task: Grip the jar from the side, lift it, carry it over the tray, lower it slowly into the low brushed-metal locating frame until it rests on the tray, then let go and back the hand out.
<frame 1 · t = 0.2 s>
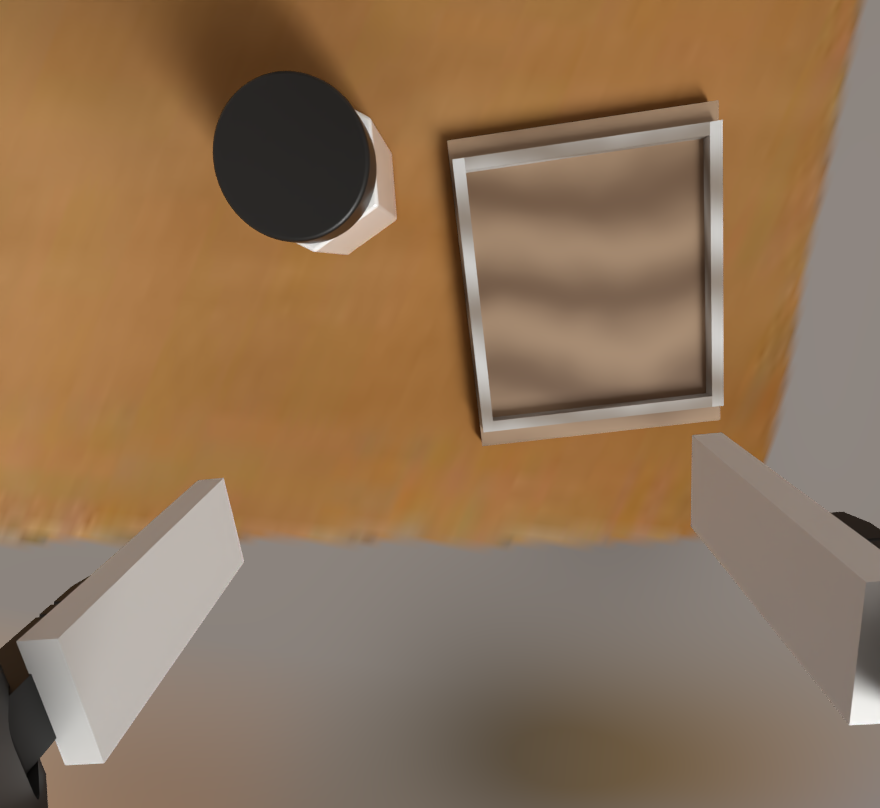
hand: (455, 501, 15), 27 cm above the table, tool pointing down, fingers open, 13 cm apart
tray: (586, 286, 40), on the table
jar: (341, 191, 39), on the table
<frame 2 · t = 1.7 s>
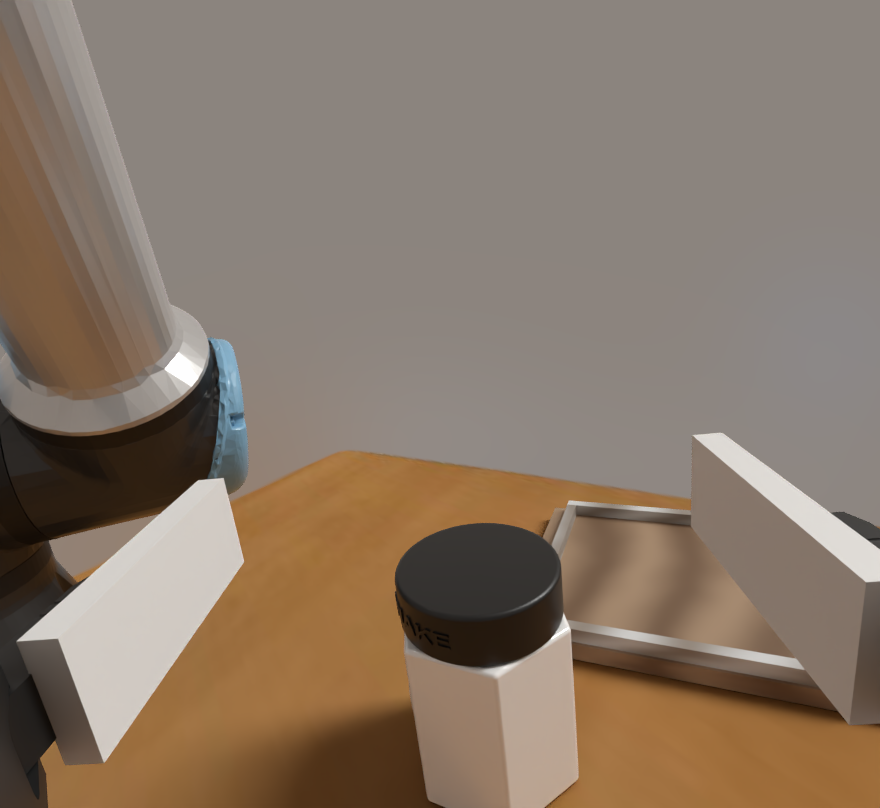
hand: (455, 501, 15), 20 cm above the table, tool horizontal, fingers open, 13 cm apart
tray: (677, 590, 41), on the table
jar: (497, 755, 30), on the table
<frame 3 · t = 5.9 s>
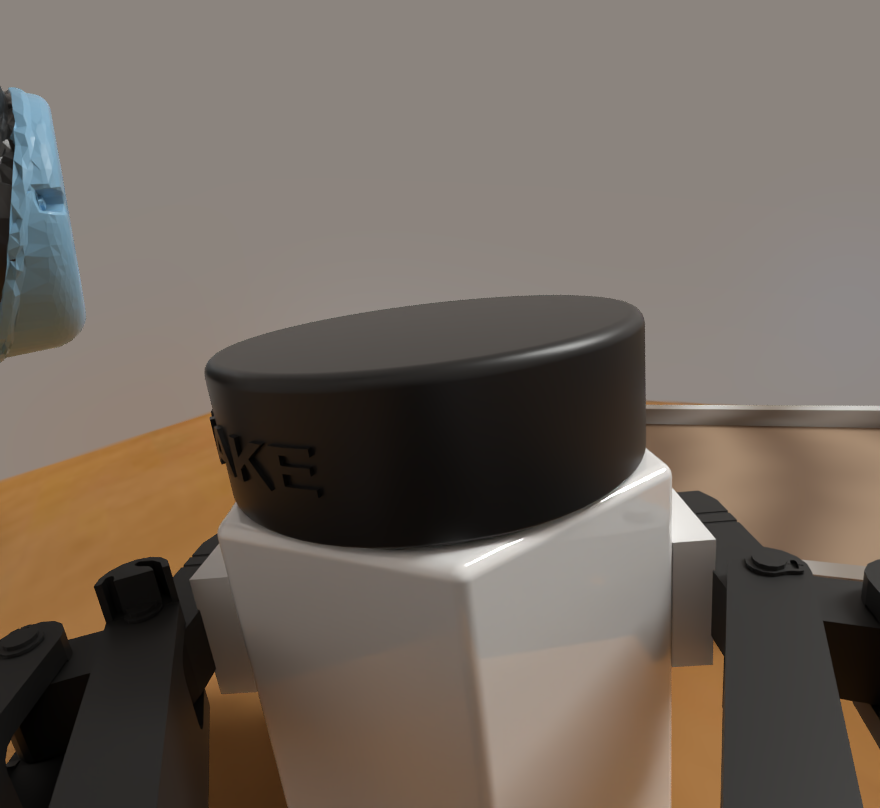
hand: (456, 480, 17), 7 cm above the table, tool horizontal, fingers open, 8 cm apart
tray: (780, 508, 25), on the table
jar: (481, 796, 14), on the table, touching gripper
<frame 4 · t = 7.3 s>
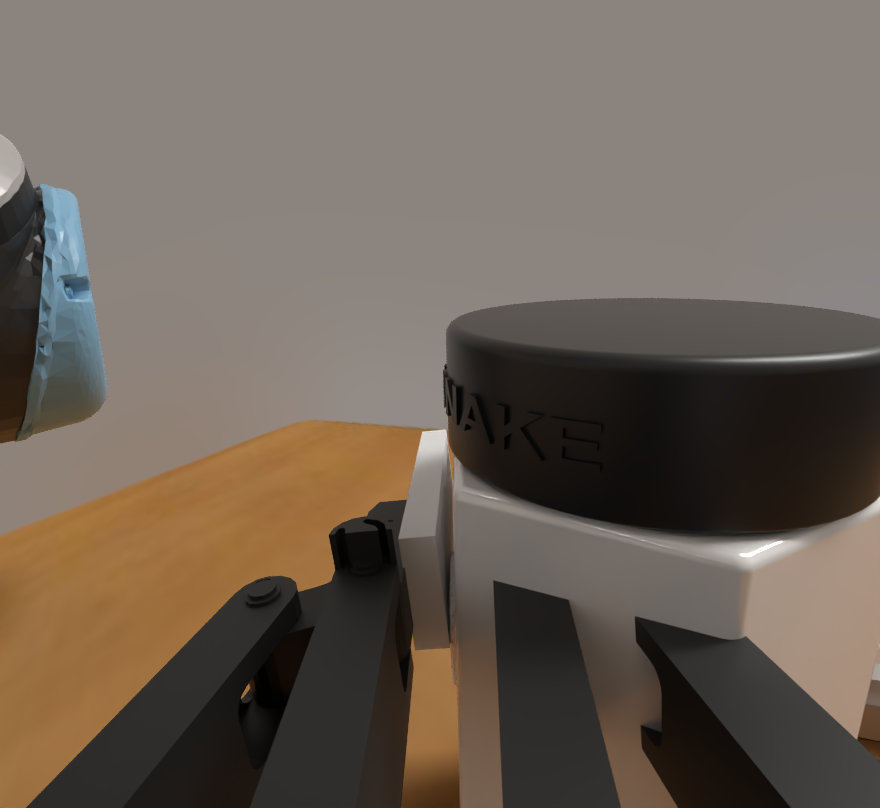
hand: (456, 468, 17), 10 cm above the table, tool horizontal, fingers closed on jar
tray: (774, 576, 26), on the table
jar: (612, 788, 14), point 3 cm above the table, touching gripper
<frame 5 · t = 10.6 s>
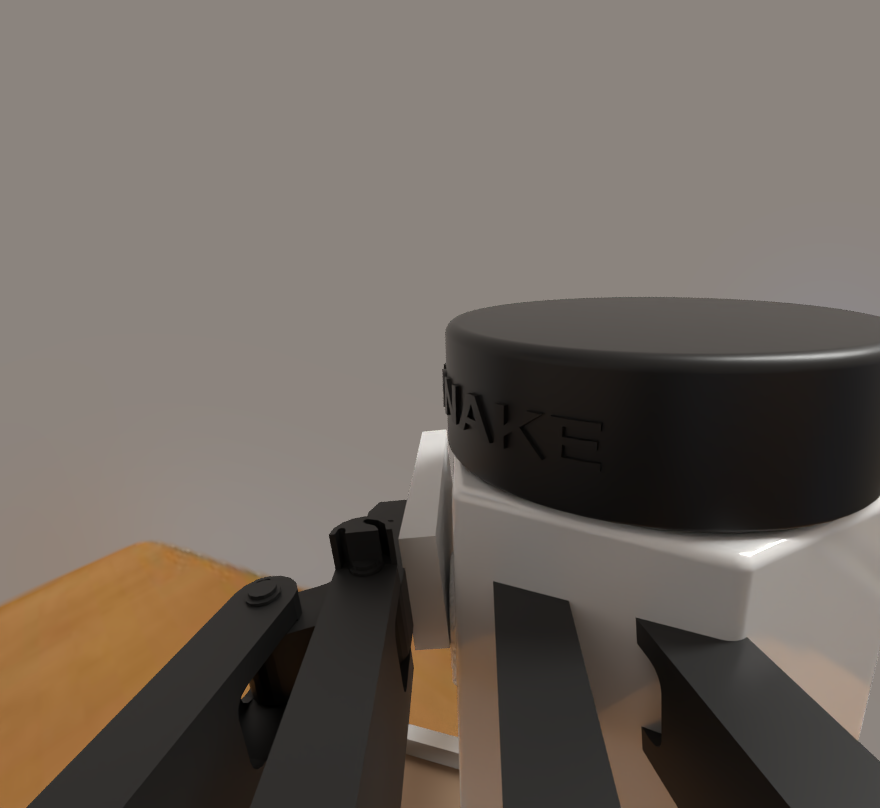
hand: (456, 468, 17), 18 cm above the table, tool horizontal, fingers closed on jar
jar: (613, 788, 14), point 11 cm above the table, touching gripper
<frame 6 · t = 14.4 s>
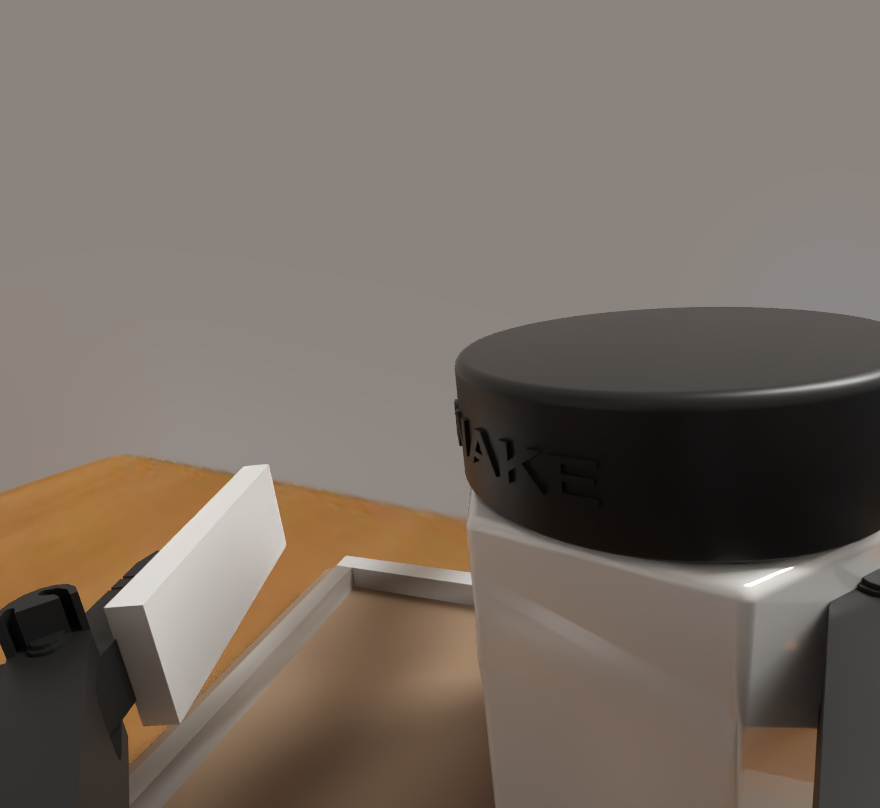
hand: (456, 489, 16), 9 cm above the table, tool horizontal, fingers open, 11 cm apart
jar: (653, 799, 14), point 1 cm above the table, touching tray
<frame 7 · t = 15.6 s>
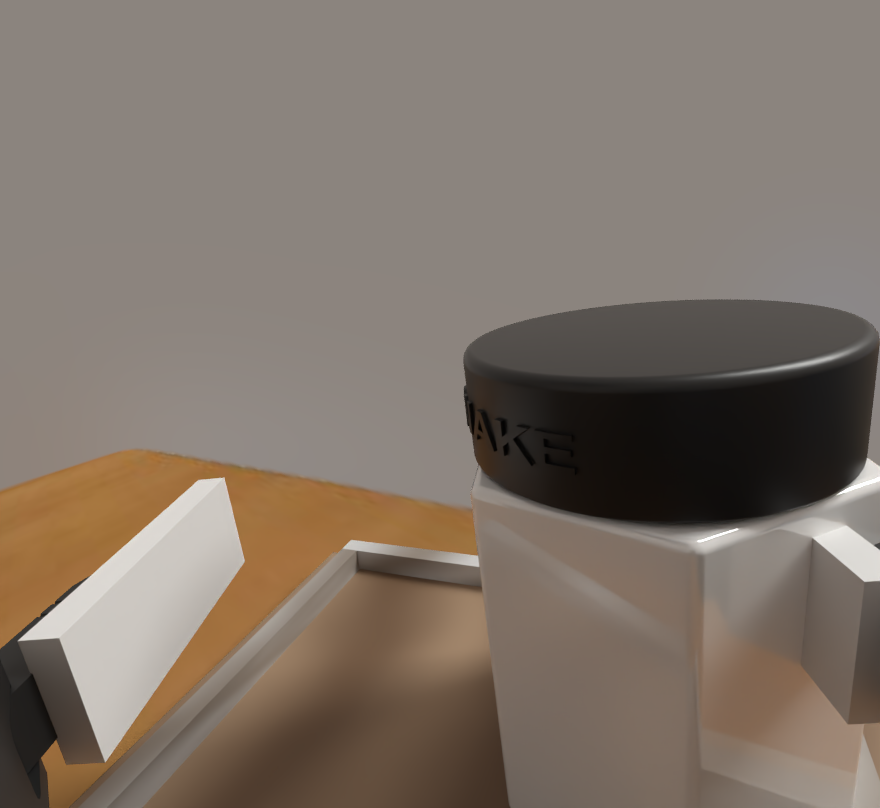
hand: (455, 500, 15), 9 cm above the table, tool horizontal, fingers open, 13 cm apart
tray: (483, 797, 16), on the table
jar: (652, 752, 15), point 1 cm above the table, touching tray
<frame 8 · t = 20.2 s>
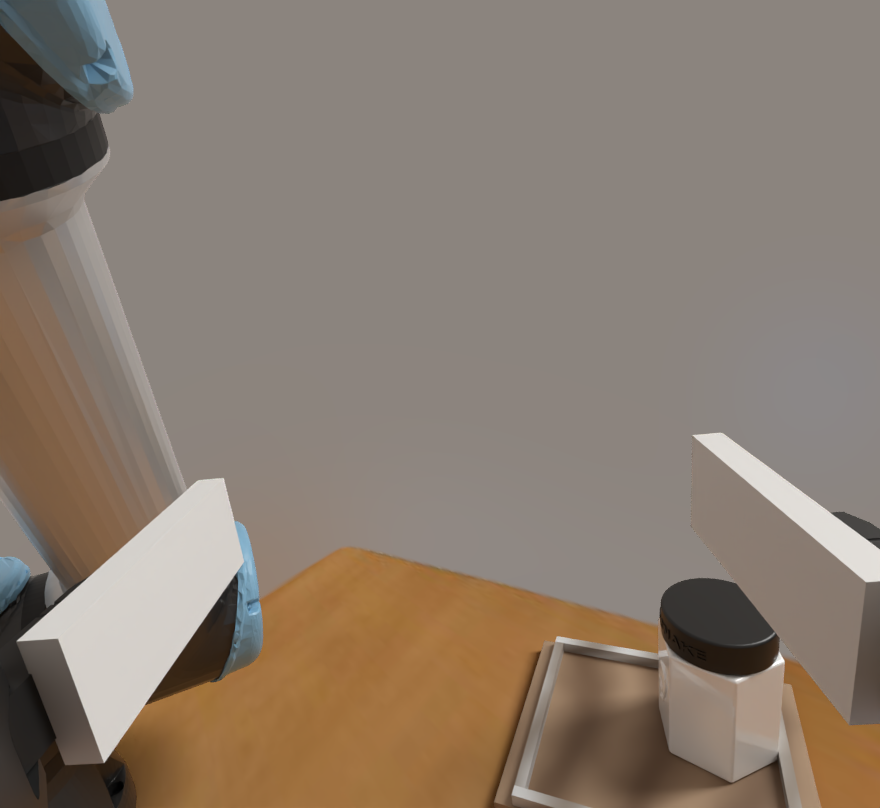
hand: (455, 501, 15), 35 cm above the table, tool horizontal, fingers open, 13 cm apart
tray: (654, 750, 45), on the table
jar: (714, 734, 45), point 1 cm above the table, touching tray
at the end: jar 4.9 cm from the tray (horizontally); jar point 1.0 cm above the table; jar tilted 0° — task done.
